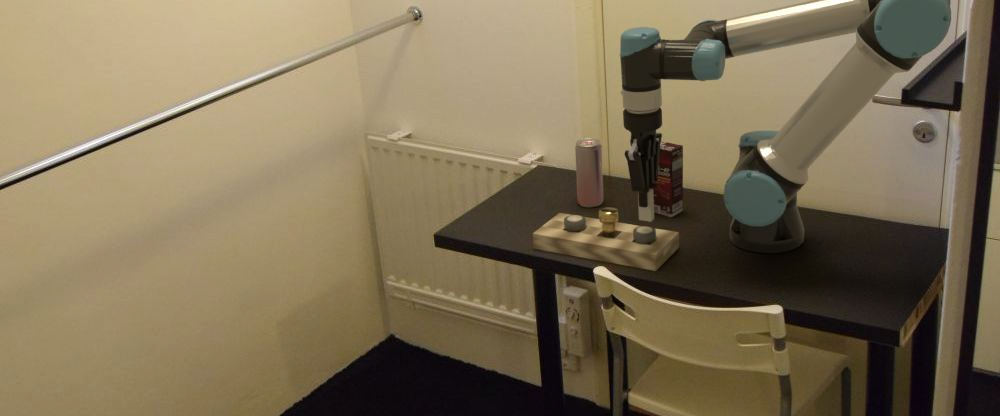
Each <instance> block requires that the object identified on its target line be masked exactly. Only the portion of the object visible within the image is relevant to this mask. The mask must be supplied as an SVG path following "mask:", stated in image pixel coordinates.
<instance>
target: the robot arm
mask: <svg viewBox="0 0 1000 416" xmlns="http://www.w3.org/2000/svg"><path fill="white" fill-rule="evenodd" d="M951 22H952V9H951V0H808V1H804V2H799V3H794V4H790V5H785V6H782V7H776V8H771V9H768V10H767V9H766V10H763V11H759V12H754V13H749V14H744V15H741V16H735V17H731V18H727V19H723V20H722V19H721V20H715V19H706V20H703V21H701V22H699V23H697V24H696V25H695V26H693V27H692V29H691V30H690V32H689V33H688V34H687V35H686V37H684V39H664V38H661V35H660V31H659V29H657V28H655V27H648V26H639V27H632V28H628V29H626V30H625V31H623V32H622V33H621V34H620V43H619V46H620V47H619V48H620V49H619V52H620V54H619V57H620V72H621V73H620V74H621V88H622V89H621V90H620V94H621V96H622V107H623V109H624V110H623V111H622V115H623V116H622V117H623V118H622V119H623V128H624V129H625V130H626V131H628V132H630V141H629V143H630V144H629V145H630V148H629V150H625V151H624V157H625V159H626V161H627V167H628V174H629V179H630V186H631V191H632V192H634V193H635V192H636V193H637V205H638V206H637V207H638V221H644V222H649V223H650V222H653V221H654V220H655V213H654V199H653V189H652V188H658V184H655V182H657V181H658V171H659V155H660V143H661V141H662V138H663V134H662V132H657V130H659V129H660V128H661V127H662V126H663V111H662V105H663V100H662V80H670V81H671V80H673V81H674V80H675V81H678V80H679V81H699V82H706V81H717V80H720V79H721V78H722V77H723V75H724V73H725V72H724V71H725V67H726V60H727V59H730V58H736V57H740V56H743V55H744V56H745V55H749V54H754V53H760V52H764V51H769V50H775V49H780V48H785V47H789V46H794V45H799V44H806V43H809V42H814V41H819V40H825V39H830V38H836V37H839V36H846V35H849V34H853V33H855V38H856V41H855V43H854V44H853V45H852V47H851V48H850V49H849V50H848V51H847V53H846V54H844V56H843V57H842V58H841V59H840V61H839V62H838V63H837V64H836V65H835V66H834V67H833V68H832V70H831V71H830V72H829V73H828V74H827V76H826V77H825V78H824V79H823V80H822V81H821V82H820V83H819V84H818V85H817V87H816V88H815V89H814V90H813V92H811V94H810V95H809V96H808V97H807V98H806V100H805V101H804V102H803V103H802V104H801V106H800V107H799V108H798V109H797V110H796V111H795V112H794V113H793V114H792V115H791V117H790V118H789V119H788V120H787V121H786V122H785V124H784V125H783V126H782V127H781V128H780V130H755V131H754V130H753V131H748V132H745V133H743V134H742V135H741V136H740V138H739V144H738V148H739V156H738V160H737V162H736V165H735V166H734V167H733V170H732V172H731V174H730V175H729V177H728V178H727V180H726V181H725V184H724V189H723V202H724V205H725V209H726V210H727V211H728V213H729V214H730V215H731V217H733V218H732V220H731V223H730V225H729V240H730V242H731V244H733V245H734V246H735V247H737V248H740V249H742V250H745V251H748V252H752V253H758V252H759V253H760V254H778V253H785V252H791V251H792V250H795V248H796V249H797V247H798V248H799V247H801V246H802V245H803V244H804V242H805V227H804V223H803V221H802V217H801V214H800V211H799V208H798V205H797V203H798V200H797V199H798V192H799V191H800V190H801V189H802V188H803V187H804V186H805V185H806V184H807V182H808V181H809V173H808V169H809V168H810V167H811V166H812V165H813V163H814V162H815V161H817V159H819V157H820V156H821V155H822V154H823V152H825V151H826V149H827V148H828V147H829V146H830V145H831V144H832V142H833V141H834V140H835V139H836V138H838V136H839V135H840V134H841V133H842V132H843V131H844V130H845V128H847V127H848V125H849V124H850V123H851V122H852V121H853V120H854V119H855V117H857V116H858V115H859V113H860V112H861V111H862V110H863V109H864V108H865V106H867V105H868V103H869V102H870V101H871V100H872V99H873V98H874V97H875V96H876V94H878V93H879V91H880V90H881V89H882V88H883V87H884V85H886V83H888V81H890V79H891V78H892V77H893V76H894V75H895V74H898V73H908V72H910V71H911V69H913V68H914V66H915V65H916V64H917V63H918V62H919V61H920V59H922V57H924V56H926V55H927V54H929V53H931V52H933V51H934V50H935V49H937V48H938V47H939V45H940V44H941V43H942V42H943V41H944V39H945V38H946V36H947V35H948V32H949V30H950V26H951ZM802 243H803V244H802ZM801 244H802V245H801ZM800 245H801V246H800Z"/></svg>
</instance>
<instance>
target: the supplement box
mask: <svg viewBox="0 0 1000 416" xmlns="http://www.w3.org/2000/svg"><path fill="white" fill-rule="evenodd" d="M683 177H684V146H683V144H676V143H671V142H668V141H663V140H661V143H660V155H659V171H658V181H657V182H655V184H658V188H652V189H653V199H654V214H658V215H663V216H666V217H668V218H673V217H675V216H677V215H678V214H680V213H682V212H683V210H684V186H683V185H684V178H683Z"/></svg>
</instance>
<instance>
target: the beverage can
mask: <svg viewBox="0 0 1000 416" xmlns="http://www.w3.org/2000/svg"><path fill="white" fill-rule="evenodd" d="M602 146H603V145H601V140H599V139H598V138H589V137H587V138H582V139H579V140H577V141H576V142H575V147H574V148H575V149H574V150H575V151H574V152H575V168H576V169H575V171H576V172H575V173H576V193H577V203H578V204H579V205H580V206H581V207H583V208H589V209H590V208H596V207H597V208H598V207H599V206H601V205H602V204H603V202H604V181H603V180H604V176H603V175H604V174H603V173H604V172H603V152H602Z"/></svg>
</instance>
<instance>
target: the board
mask: <svg viewBox="0 0 1000 416" xmlns="http://www.w3.org/2000/svg"><path fill="white" fill-rule="evenodd" d="M570 215H571V214H569V213H563V212H558V213H557V214H556V215H554V217H552V218H551V219H549V220H548V221H547V222H546V223H544V224H543V225H541V226H540V227H539V228H538V229H537V230H535V231H534V232H533V233H532V243H533V244H532V245H533V249H534V250H540V251H544V252H550V253H551V252H552V253H556V254H562V255H567V256H571V257H572V256H573V257H577V258H583V259H589V260H594V261H599V262H605V263H610V264H616V265H621V266H626V267H632V268H637V269H642V270H648V271H653V272H657V271H658V269H659V268H660V267H662V265H663V264H665V263H666V261H668V259H669V258H671V256H672V255H673V254H675V252H676V251H677V250H678V249H680V232H679V231H673V230H668V229H667V230H666V229H660V228H655V229H656V241H655V242H653V243H651V244H650V245H647V244H638V243H636V242H634V240H633V230H634V229H635V228H637V227H640V226H641V225H635V224H630V223H624V222H619V221H617V222H616V235H615V236H614V237H604V236H603V232H602V223H601V222H600V221H599V218H594V217H587V216H584V217H585V218H586V229H585V230H583V231H581V232H580V233H577V232H569V231H566V230H565V229H564V218H565V217H567V216H570Z"/></svg>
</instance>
